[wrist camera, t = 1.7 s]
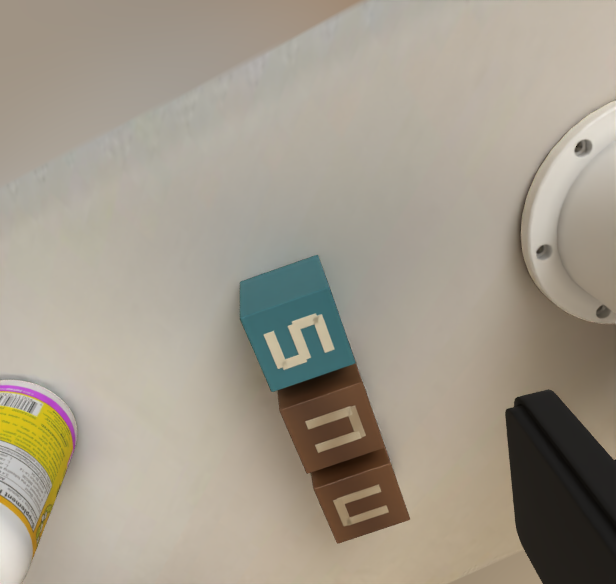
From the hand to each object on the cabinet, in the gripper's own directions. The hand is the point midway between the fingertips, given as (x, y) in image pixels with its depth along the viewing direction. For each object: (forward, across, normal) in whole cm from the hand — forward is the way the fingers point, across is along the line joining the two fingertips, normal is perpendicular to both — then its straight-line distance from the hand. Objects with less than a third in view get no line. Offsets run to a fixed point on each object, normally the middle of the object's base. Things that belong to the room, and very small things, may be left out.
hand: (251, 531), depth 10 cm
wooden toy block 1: (+21, -2, +12) cm, 24 cm away
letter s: (+21, -1, +6) cm, 22 cm away
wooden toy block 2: (+21, -2, +17) cm, 27 cm away
